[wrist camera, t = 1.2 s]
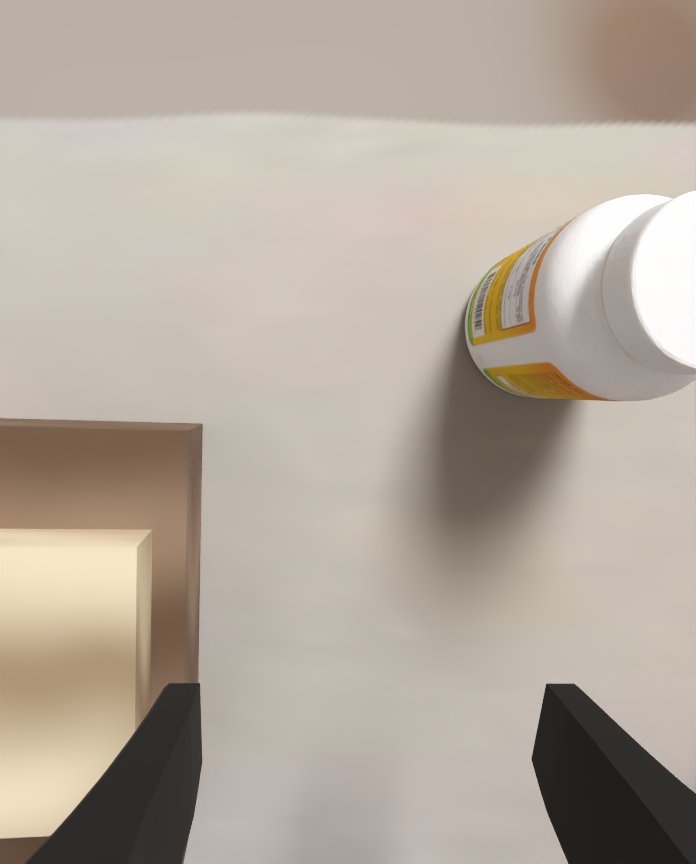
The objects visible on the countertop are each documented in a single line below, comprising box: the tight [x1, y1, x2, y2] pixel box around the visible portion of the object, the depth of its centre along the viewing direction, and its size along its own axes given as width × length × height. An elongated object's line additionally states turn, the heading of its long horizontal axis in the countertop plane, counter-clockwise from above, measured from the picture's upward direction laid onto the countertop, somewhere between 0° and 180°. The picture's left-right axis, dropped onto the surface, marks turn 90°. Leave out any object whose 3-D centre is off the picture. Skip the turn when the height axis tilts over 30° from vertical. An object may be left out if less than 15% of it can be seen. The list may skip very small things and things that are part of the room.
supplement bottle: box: [465, 191, 696, 401], centre depth 18 cm, size 5×5×10 cm
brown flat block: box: [0, 418, 202, 864], centre depth 20 cm, size 14×10×4 cm
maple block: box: [0, 529, 152, 839], centre depth 17 cm, size 8×6×2 cm
